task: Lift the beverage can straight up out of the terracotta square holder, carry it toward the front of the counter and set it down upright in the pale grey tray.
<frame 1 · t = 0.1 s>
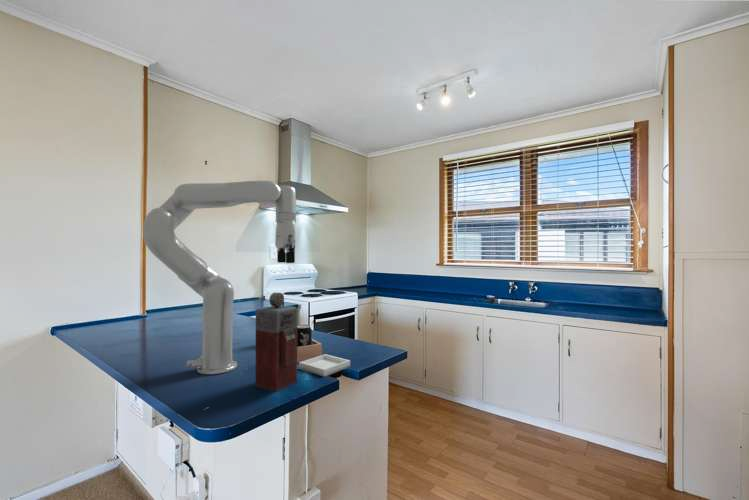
hand: (285, 262, 133), 37 cm above the counter, tool pointing down, fingers open, 9 cm apart
tray: (324, 367, 120), on the counter
red decanter: (279, 385, 105), on the counter
beverage can: (303, 357, 133), resting in holder
drinking cup: (283, 343, 154), on the counter
holder: (303, 357, 133), on the counter
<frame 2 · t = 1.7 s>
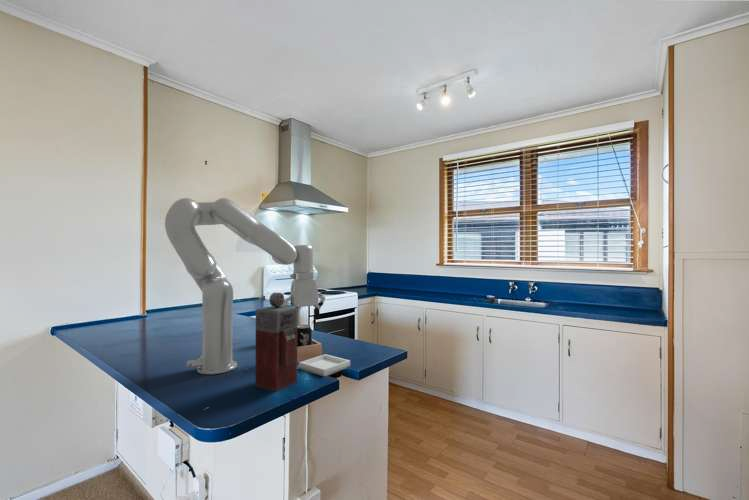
hand: (304, 320, 133), 14 cm above the counter, tool pointing down, fingers open, 9 cm apart
nothing on the counter moved.
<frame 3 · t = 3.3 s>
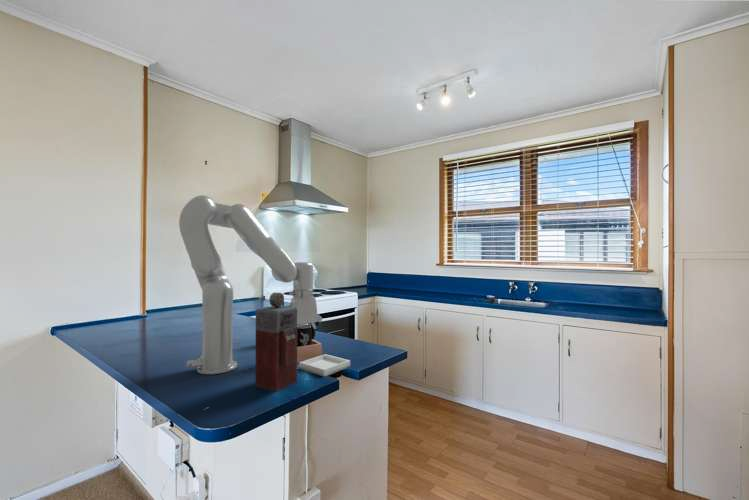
hand: (303, 339, 133), 7 cm above the counter, tool pointing down, fingers closed on beverage can, 6 cm apart
beverage can: (303, 357, 133), resting in holder, touching gripper
everything else where it was.
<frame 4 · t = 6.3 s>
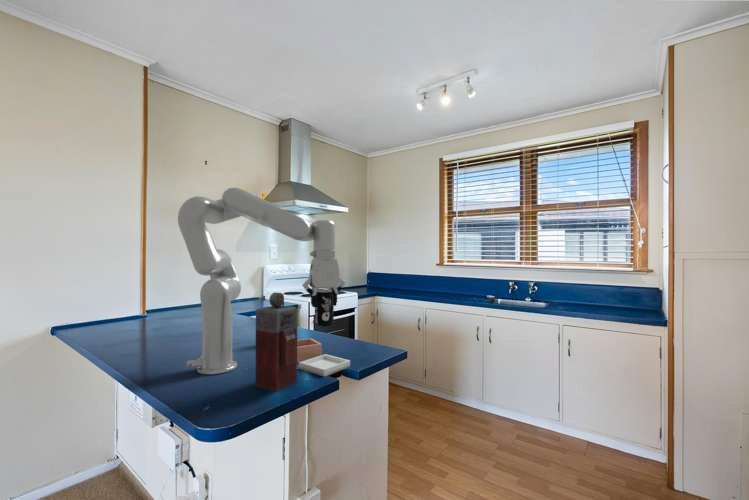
hand: (324, 305, 121), 22 cm above the counter, tool pointing down, fingers closed on beverage can, 6 cm apart
beverage can: (324, 325, 121), point 15 cm above the counter, touching gripper
everything else where it was.
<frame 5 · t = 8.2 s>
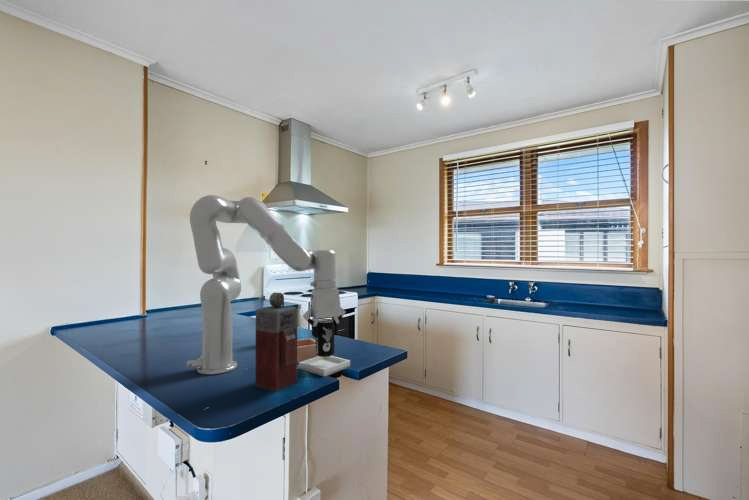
hand: (325, 335, 120), 11 cm above the counter, tool pointing down, fingers closed on beverage can, 6 cm apart
beverage can: (325, 355, 120), point 4 cm above the counter, touching gripper
everything else where it was.
when the fingers open (9 cm above the counter, at t = 9.6 s): beverage can drops 1 cm, resting on tray.
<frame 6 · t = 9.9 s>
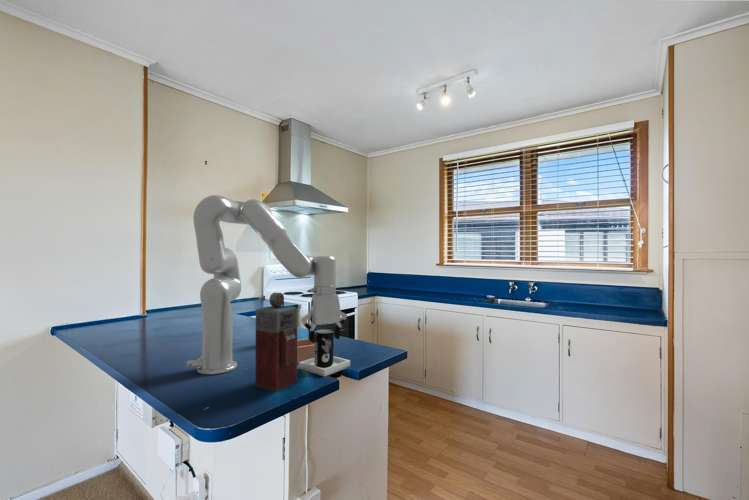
hand: (324, 340, 120), 10 cm above the counter, tool pointing down, fingers open, 9 cm apart
beverage can: (323, 365, 120), point 1 cm above the counter, touching tray
everything else where it was.
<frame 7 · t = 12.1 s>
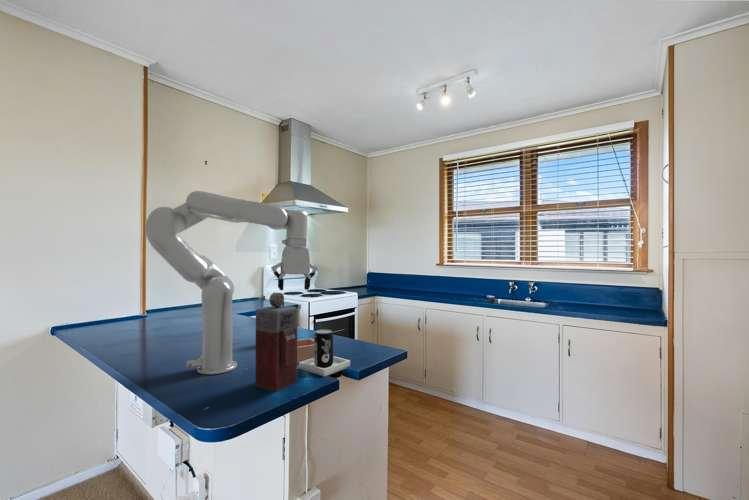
hand: (294, 289, 128), 27 cm above the counter, tool pointing down, fingers open, 9 cm apart
nothing on the counter moved.
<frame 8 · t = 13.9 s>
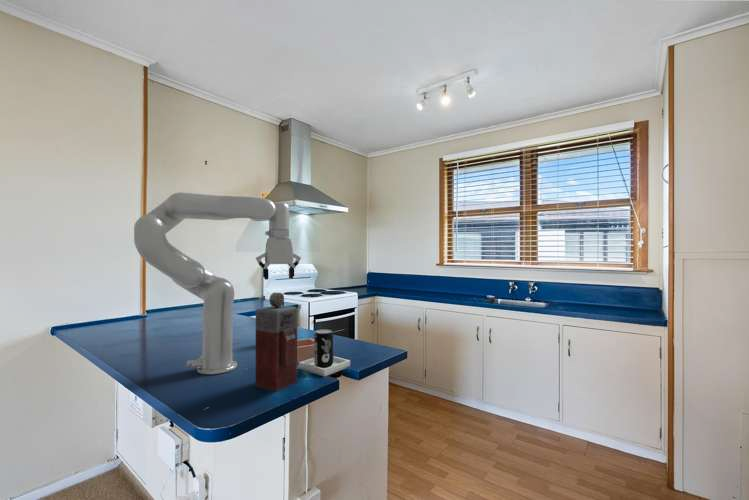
hand: (278, 278, 133), 30 cm above the counter, tool pointing down, fingers open, 9 cm apart
nothing on the counter moved.
at the end: beverage can inside the target area on the tray (0.4 cm from its centre), point 0.6 cm above the tray's base; beverage can tilted 0°; the gripper is holding nothing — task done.
